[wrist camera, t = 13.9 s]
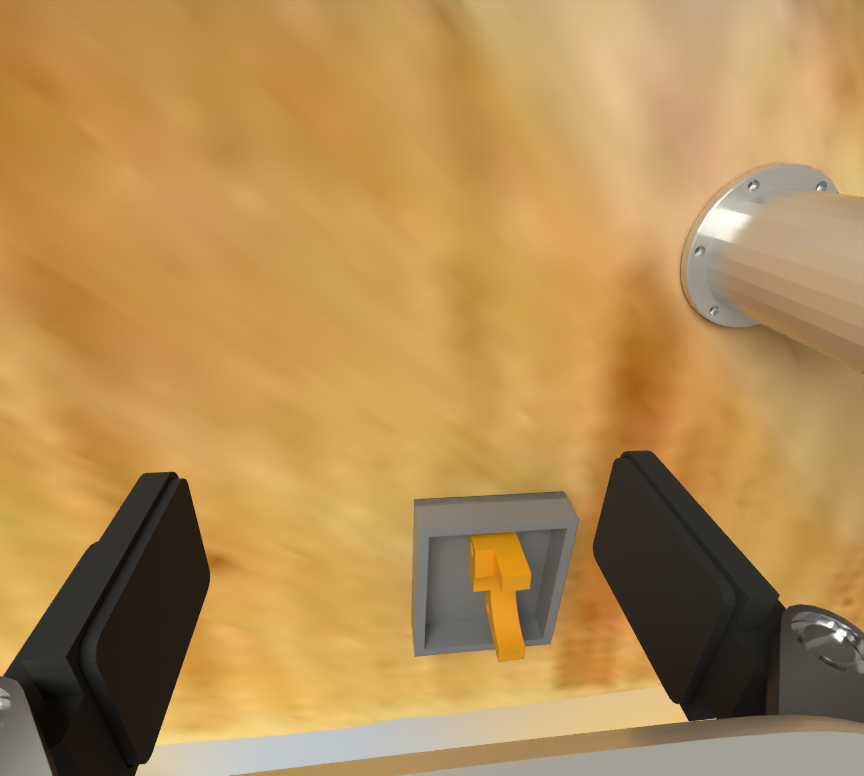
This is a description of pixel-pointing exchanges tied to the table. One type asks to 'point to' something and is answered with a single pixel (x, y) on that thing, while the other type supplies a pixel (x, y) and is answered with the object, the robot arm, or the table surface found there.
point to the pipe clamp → (500, 587)
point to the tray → (449, 567)
